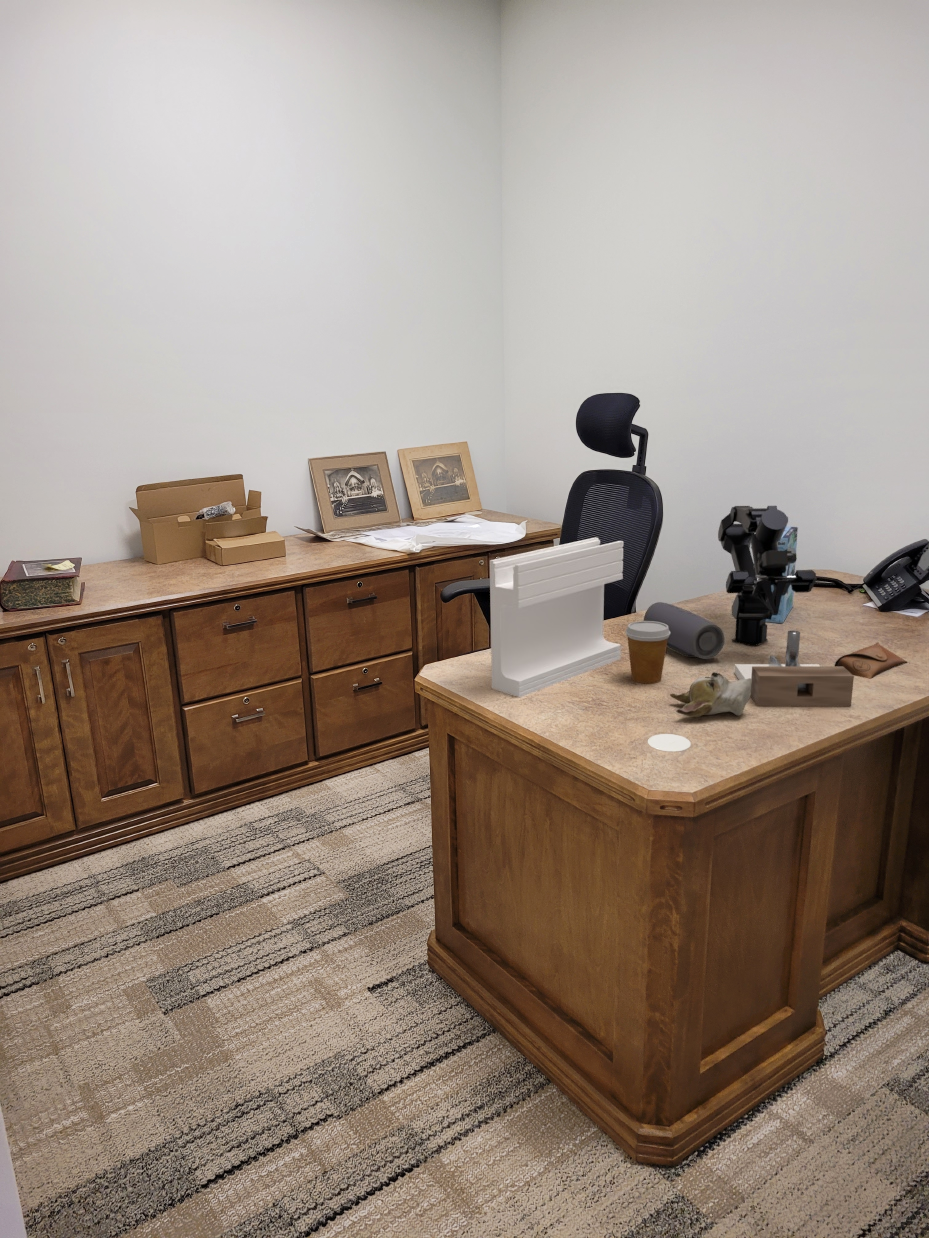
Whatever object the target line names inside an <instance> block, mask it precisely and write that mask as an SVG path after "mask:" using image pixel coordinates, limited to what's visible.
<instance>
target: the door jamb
mask: <svg viewBox="0 0 929 1238" xmlns="http://www.w3.org/2000/svg"><path fill="white" fill-rule="evenodd" d="M854 677H855V676H854V675H852V674H851V673H850V672H849V671H848V670H847V669H845V668H844V667H843V666H835V665H834V666H832V665H831V666H830V665H829V666H827V665H826V666H824V665H823V666H821V665H820V666H752V676H751V679H752V684H751V692H750V697H751V698H752V699H751V700H753V702H754V703H755V706H757V707H852V701H853V700H852V699H853V690H854V689H853V688H854ZM798 683H806V690H798Z"/></svg>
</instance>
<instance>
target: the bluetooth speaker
mask: <svg viewBox="0 0 929 1238" xmlns="http://www.w3.org/2000/svg"><path fill="white" fill-rule="evenodd" d="M643 621H655V622H661V623H664V624H666V625H668V628H669V631H670V635H669V637H668V641H667V647H668V648H669V649H670V650H673V651H674V652H677V653H678V654H680V655H682V656H685V657H688V658H690V657H691V658H694V657H697V658H699V659H704V660H708V659H712V658H716V657H717V656H718V655H719V654H720V653H721V652H722V650H723V648H724V646H725V643H726V642H725V638H726V637H725V633H724V631H723V629H722V628H721V627H720V626H719V625H718V624H715V623H714V622H713V621H711V620H708V619H707V618H704V617H702V615H701V616H700V615H698V614H697V613H694V612H692V611H689V610H688V609H685V608H683V607H679V606H676V605H674V604H670V603H668V602H662V601H660V602H659V601H658V602H655V603H652V604H651V605H650V606H649V607H648V608H647V610H646V611H645V613H644V617H643Z"/></svg>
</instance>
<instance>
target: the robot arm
mask: <svg viewBox="0 0 929 1238" xmlns="http://www.w3.org/2000/svg"><path fill="white" fill-rule="evenodd" d="M788 523H789V517H788V516H787V515H786V513H785V512H784V511H782V510H780V509H778V506H777V505H767V507H766V508H762V507H761V508H759V507H758V508H757V507H756V508H755V507H753V506H750V505H735V506H731V509H730V511H729V513H728V514H726V516H724V517H723V518H722V519H721V520H720V524H719V527H718V530H717V539H718V541H719V542H720V544H721V548H722V549H723V550H724V551H725V552H727V553H729V554H730V555H731V560H732V564H733V567H734V570H731V571H730V572H729V573H728V576H727V579H726V582H725V589H726V593H727V594H736V595H735V597H734V600H733V602H732V605H731V616H732V617H733V618H734V620H735V631H734V632H735V635H734V638H732V639H731V642H733V643H736V644H737V643H738V644H743V645H748V646H752V647H757V646H759V645H761V644H763V643H765V642H768V637H767V635H768V624H766V623H767V622H766V619H769V620H771V618H772V614H773V615H777V614H778V611H779V606H780V601H781V597H782V596H783V595H785V594H786V592H787V590H788V588H789V586H790V585H791V587H792V590H793V591H794V592H795V593H796V594H797V593H798V594H799V593H800V594H801V593H809V592H811V591H812V589H813V588H814V587H815V583H816V582H817V579H818V578H817V573H816V572H815V571H814V570H813V569H795V574H794V576H783V573H785V572H786V566H788V563H794V562H796V563H797V550H796V551H795V548H787V549H786V550H785V551H779V550H778V544H777V542H778V541H780V540H781V537H782V535H783V533H784V530H785V528H786V527H788ZM771 586H773V587H774V590H773V592H772V591H771Z"/></svg>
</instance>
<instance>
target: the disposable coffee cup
mask: <svg viewBox="0 0 929 1238" xmlns="http://www.w3.org/2000/svg"><path fill="white" fill-rule="evenodd" d="M625 634H626V637H627V643H628V654H629V664H630V674H631V679H632V681H634V682H635V683H640V684H656V683H659V682H661V681H662V677H663V669H664V663H665V658H666V653H667V652H666V651H667V647H668V646H667V641H668V637H669V635H670V631H669V628H668V625H666V624H664V623H661V622H655V621H644V620H640V621H639V620H638V621H637V620H636V621H633V622H629V624H627V627H626V630H625Z"/></svg>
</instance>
